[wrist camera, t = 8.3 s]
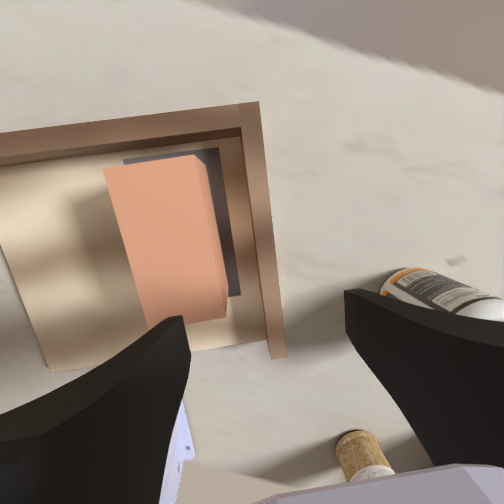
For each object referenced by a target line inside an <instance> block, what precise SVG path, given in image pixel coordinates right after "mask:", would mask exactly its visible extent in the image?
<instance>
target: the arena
mask: <svg viewBox="0 0 504 504" xmlns="http://www.w3.org/2000/svg"><path fill="white" fill-rule="evenodd" d="M187 155H195V156H196V157H197V158H198V159H200V160H201V161H202V162H203V163H204V164H205V165H206V168H207V174H208V179H209V184H210V190H211V195H212V200H213V206H214V211H215V216H216V222H217V227H218V232H219V238H220V243H221V248H222V254H223V259H224V264H225V270H226V275H227V280H228V299H227V312H226V318H221V319H215V320H209V321H203V322H198V323H192V324H186V325H185V329H186V334H187V338H188V343H189V348H190V351H196V350H203V349H209V348H216V347H222V346H229V345H235V344H242V343H248V342H255V341H261V340H267V343H268V348H269V352H270V357H271V359H277V358H283V357H287V352H286V343H285V334H284V325H283V316H282V307H281V298H280V289H279V279H278V270H277V261H276V252H275V243H274V234H273V225H272V216H271V207H270V198H269V188H268V179H267V170H266V161H265V152H264V143H263V134H262V125H261V116H260V107H259V101H257V102H249V103H241V104H233V105H224V106H216V107H208V108H200V109H192V110H184V111H176V112H168V113H159V114H151V115H143V116H135V117H127V118H119V119H111V120H102V121H94V122H86V123H78V124H70V125H62V126H54V127H46V128H37V129H29V130H21V131H13V132H5V133H0V245H1V247H2V250H3V252H4V255H5V257H6V260H7V263H8V265H9V268H10V270H11V273H12V275H13V278H14V280H15V283H16V285H17V288H18V291H19V293H20V296H21V298H22V301H23V303H24V306H25V308H26V311H27V313H28V316H29V319H30V321H31V324H32V326H33V329H34V331H35V334H36V336H37V339H38V341H39V344H40V347H41V349H42V352H43V354H44V357H45V359H46V362H47V364H48V367H49V369H50V372H51V373H53V372H60V371H66V370H73V369H79V368H86V367H92V366H99V365H101V364H102V363H104V362H106V361H107V360H109V359H110V358H112V357H113V356H115V355H116V354H118V353H119V352H120V351H122V350H123V349H125V348H126V347H128V346H129V345H130V344H132V343H133V342H135V341H136V340H137V339H139V338H140V337H141V336H143V335H144V334H145V333H146V332H148V331H149V329H148V326H147V322H146V319H145V315H144V312H143V308H142V305H141V301H140V298H139V294H138V291H137V288H136V284H135V281H134V277H133V274H132V270H131V267H130V263H129V260H128V256H127V253H126V249H125V246H124V242H123V239H122V235H121V232H120V228H119V225H118V222H117V218H116V215H115V211H114V208H113V204H112V201H111V197H110V194H109V190H108V187H107V183H106V180H105V176H104V173H103V169H102V168H108V167H115V166H121V165H128V164H134V163H141V162H147V161H154V160H161V159H167V158H174V157H180V156H187Z"/></svg>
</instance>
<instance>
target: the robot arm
mask: <svg viewBox="0 0 504 504" xmlns="http://www.w3.org/2000/svg"><path fill="white" fill-rule="evenodd" d="M344 302H345V327H346V333H347V335H348V337H349V339H350V340H351V342H352V344H353V346H354V347H355V349H356V351H357V352H358V353H359V355H360V356H361V357H362V359H363V360H364V361H365V363H366V364H367V365H368V367H369V368H370V369H371V371H372V372H373V373H374V375H375V376H376V377H377V378H378V380H379V381H380V382H381V384H382V385H383V386H384V388H385V389H386V390H387V391H388V393H389V394H390V395H391V397H392V398H393V400H394V401H395V402H396V404H397V405H398V407H399V408H400V410H401V411H402V413H403V415H404V416H405V418H406V419H407V421H408V422H409V424H410V426H411V427H412V429H413V430H414V432H415V434H416V435H417V437H418V439H419V440H420V442H421V444H422V445H423V447H424V449H425V450H426V452H427V454H428V455H429V457H430V459H431V460H432V462H433V464H434V465H435V467H432V468H426V469H421V470H415V471H409V472H403V473H398V474H392V475H386V476H380V477H375V478H369V479H363V480H357V481H352V482H346V483H340V484H335V485H329V486H323V487H317V488H312V489H306V490H300V491H294V492H289V493H283V494H277V495H274V496H271V497H269V498H266V499H263V500H261V501H258V502H255V503H253V504H504V322H501V321H494V320H487V319H480V318H473V317H467V316H462V315H457V314H452V313H447V312H442V311H438V310H433V309H429V308H425V307H422V306H418V305H414V304H410V303H407V302H404V301H400V300H397V299H394V298H390V297H387V296H384V295H381V294H377V293H374V292H370V291H367V290H362V289H352V290H345V291H344ZM190 361H191V352H190V348H189V343H188V338H187V334H186V329H185V325H184V320H183V316H182V315H178V316H171V317H167V318H166V319H164V320H162V321H161V322H160V323H158V324H157V325H156V326H154V327H153V328H152V329H150V330H149V331H148V332H146V333H145V334H144V335H143V336H141V337H140V338H139V339H137V340H136V341H135V342H133V343H132V344H130V345H129V346H128V347H126V348H125V349H123V350H122V351H120V352H119V353H118V354H116V355H115V356H113V357H112V358H110V359H109V360H107V361H106V362H104V363H102V364H101V365H99V366H98V367H96V368H94V369H93V370H91V371H89V372H87V373H86V374H84V375H82V376H80V377H79V378H77V379H75V380H73V381H71V382H69V383H67V384H65V385H63V386H61V387H59V388H57V389H56V390H54V391H52V392H50V393H48V394H46V395H44V396H41V397H39V398H37V399H35V400H33V401H31V402H28V403H26V404H24V405H22V406H19V407H17V408H15V409H13V410H10V411H8V412H6V413H3V414H1V415H0V504H176V500H177V495H178V489H179V484H180V479H181V474H182V469H183V463H184V461H186V460H191V459H193V458H194V456H195V450H194V446H193V441H192V437H191V433H190V429H189V425H188V421H187V417H186V413H185V409H184V405H183V401H182V398H183V394H184V390H185V387H186V383H187V380H188V375H189V369H190Z"/></svg>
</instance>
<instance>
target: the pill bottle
mask: <svg viewBox="0 0 504 504" xmlns="http://www.w3.org/2000/svg"><path fill="white" fill-rule="evenodd" d="M379 294H381V295H384V296H387V297H390V298H394V299H397V300H400V301H404V302H407V303H410V304H414V305H418V306H422V307H425V308H429V309H433V310H438V311H442V312H447V313H452V314H457V315H462V316H467V317H473V318H480V319H487V320H494V321H501V322H504V300H503V299H501V298H498V297H496V296H493V295H490V294H488V293H485V292H482V291H480V290H477V289H475V288H472V287H470V286H467V285H465V284H462V283H460V282H457V281H455V280H452V279H450V278H447V277H445V276H442V275H440V274H437V273H435V272H432V271H430V270H427V269H423V268H417V267H413V268H407V269H403V270H401V271H399V272H397V273H395V274H394V275H392V276H391V277H389V279H388V280H387V281H386V282H385V283H384V285H383V286H382V288H381V290H380V293H379Z"/></svg>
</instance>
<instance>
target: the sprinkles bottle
mask: <svg viewBox="0 0 504 504" xmlns="http://www.w3.org/2000/svg"><path fill="white" fill-rule="evenodd" d="M335 453H336V457H337V459H338V461H339V463H340V464H341V467H342V469H343V472H344V474H345V477H346V480H347V482H352V481H357V480H363V479H369V478H375V477H380V476H386V475H392V474H395V472H394V471H393V470H392V468H391V466H390V464H389V463H388V461H387V459H386V458H385V456H384V454H383V452H382V450H381V449H380V447H379V444H378V441H377V440H376V438H375V436H373V435H372V434H370V433H368V432H366V431H354V432H350V433H348V434H346V435H344V436H343V437H342V438H341V439H340V440H339V442H338V443H337V446H336V449H335Z"/></svg>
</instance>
